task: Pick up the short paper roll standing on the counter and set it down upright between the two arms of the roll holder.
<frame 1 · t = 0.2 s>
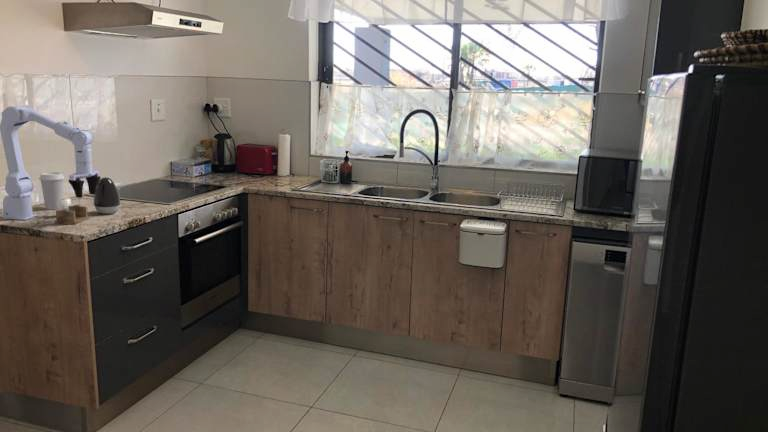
hand: (85, 195, 238), 10 cm above the counter, tool pointing down, fingers open, 7 cm apart
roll: (65, 216, 245), on the counter
coffee cup: (54, 208, 258), on the counter
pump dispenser: (107, 213, 254), on the counter
holder: (72, 220, 238), on the counter
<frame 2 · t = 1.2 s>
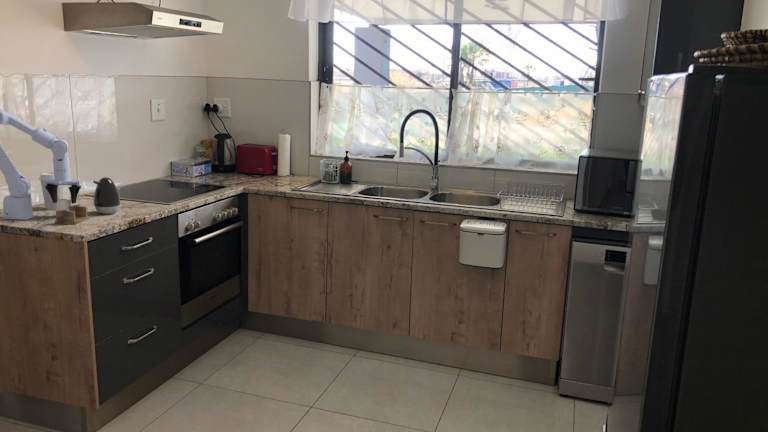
hand: (64, 202, 244), 6 cm above the counter, tool pointing down, fingers open, 7 cm apart
nothing on the counter moved.
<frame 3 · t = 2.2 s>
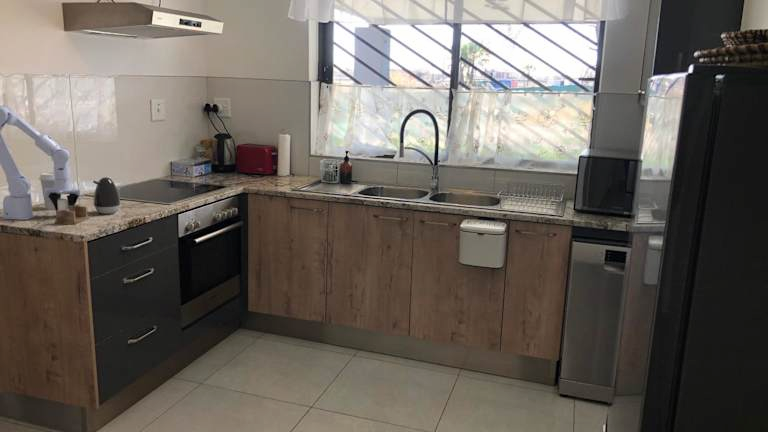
hand: (65, 211, 245), 2 cm above the counter, tool pointing down, fingers closed on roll, 5 cm apart
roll: (65, 216, 245), on the counter, touching gripper
everything else where it was.
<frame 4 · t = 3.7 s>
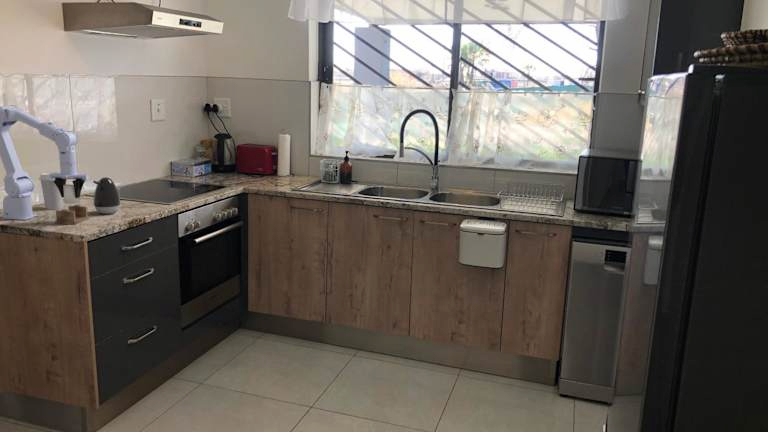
hand: (70, 197, 236), 9 cm above the counter, tool pointing down, fingers closed on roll, 5 cm apart
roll: (71, 202, 237), point 7 cm above the counter, touching gripper
everything else where it was.
when the fingers open (4 cm above the counter, at t = 5.2 s): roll drops 1 cm, resting on holder.
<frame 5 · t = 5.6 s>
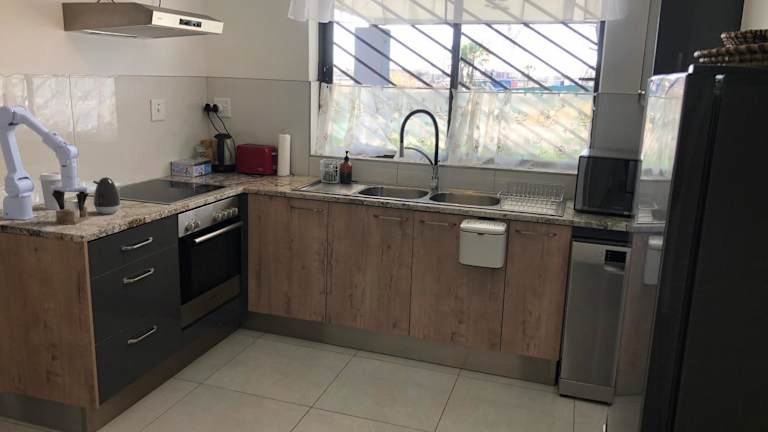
hand: (71, 210, 237), 4 cm above the counter, tool pointing down, fingers open, 7 cm apart
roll: (72, 218, 238), point 1 cm above the counter, touching holder
everything else where it was.
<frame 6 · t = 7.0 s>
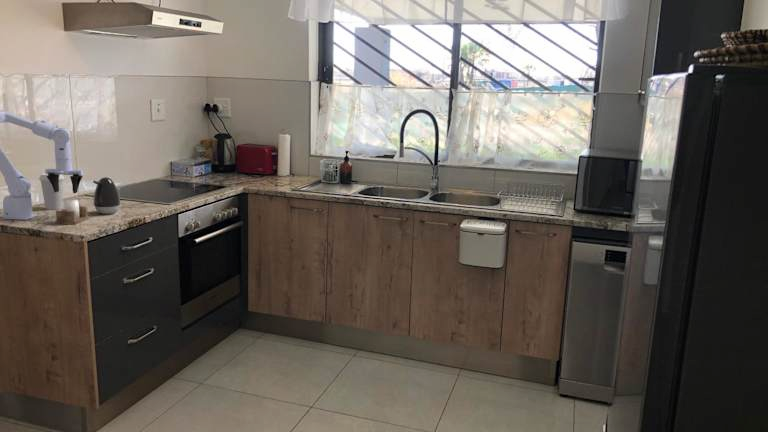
hand: (66, 192, 243), 10 cm above the counter, tool pointing down, fingers open, 7 cm apart
nothing on the counter moved.
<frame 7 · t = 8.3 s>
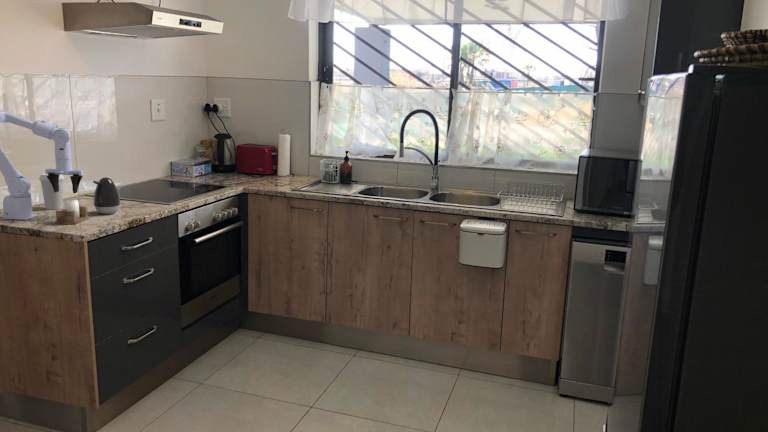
hand: (66, 192, 243), 10 cm above the counter, tool pointing down, fingers open, 7 cm apart
nothing on the counter moved.
at the end: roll 0.3 cm off-centre on the holder, point 1.0 cm above the holder's base; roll tilted 0°; the gripper is holding nothing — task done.
